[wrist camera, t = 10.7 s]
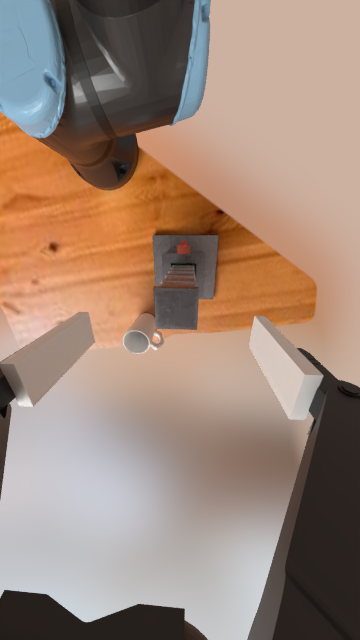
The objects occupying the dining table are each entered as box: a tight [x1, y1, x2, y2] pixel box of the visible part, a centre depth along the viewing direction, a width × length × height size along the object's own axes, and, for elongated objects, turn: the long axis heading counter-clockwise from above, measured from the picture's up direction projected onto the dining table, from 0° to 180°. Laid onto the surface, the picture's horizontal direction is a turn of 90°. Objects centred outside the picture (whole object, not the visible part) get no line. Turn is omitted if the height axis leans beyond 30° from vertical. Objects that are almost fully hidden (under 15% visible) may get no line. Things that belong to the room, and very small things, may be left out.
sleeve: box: [153, 235, 219, 299], centre depth 42 cm, size 16×16×12 cm
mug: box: [123, 313, 164, 354], centre depth 50 cm, size 10×7×12 cm, turn 62°
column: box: [154, 265, 199, 330], centre depth 29 cm, size 5×5×22 cm
